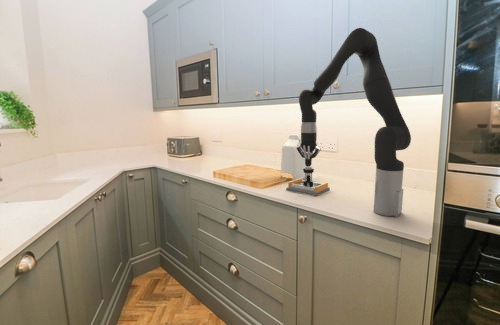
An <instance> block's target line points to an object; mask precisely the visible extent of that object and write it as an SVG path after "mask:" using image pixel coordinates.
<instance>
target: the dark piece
mask: <svg viewBox="0 0 500 325" xmlns="http://www.w3.org/2000/svg"><path fill="white" fill-rule="evenodd" d="M303 170H304V173H305V178H304V182H303V183H300V184H303V186H308V187H313V182H314V181H313V173H314V171H315V169H314V168H313V167H312V166H310V167H305V168H304V169H303ZM306 174H307V177H306Z"/></svg>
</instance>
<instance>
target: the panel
mask: <svg viewBox="0 0 500 325" xmlns="http://www.w3.org/2000/svg"><path fill="white" fill-rule="evenodd" d="M301 180H303V178H299V179H296V180H293V179H292V180H291V181H288V183H287V184H288V185H287V187H286V188H285V190H286V191H288V192H293V193H299V194H303V195H307V196H308V195H309V196H314V197H318V196H319V195H322V194H324V193H326V192H329V191H330V189H331V188H330V187H328V186H329V182H324V183H322V184H321V185H318V186H316V187H315V192H310V191H305V190H300V189H295V188H291V184H300V183H301Z"/></svg>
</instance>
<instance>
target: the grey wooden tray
mask: <svg viewBox="0 0 500 325" xmlns="http://www.w3.org/2000/svg"><path fill="white" fill-rule="evenodd" d="M304 180H305V179H304ZM304 180H303V179H302V180H301V183H303V182H304ZM321 184H323V183H321V182H316V181H315V182H314V181H313V187H308V186H303V184H291V188H295V189H300V190H305V191H310V192H315V187H316V186H318V185H321Z"/></svg>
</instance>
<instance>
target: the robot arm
mask: <svg viewBox="0 0 500 325" xmlns="http://www.w3.org/2000/svg"><path fill="white" fill-rule="evenodd" d="M379 50H380V49H379V46H378V41H377V38H376V36H375V35H374V33H372V32H370V31H369V30H367V29H365V28H362V27H358V28H355V29H354V30H352V31H351V32H350V33H349V34H348V35H347V37H346V38H345V40H344V41H343V43H342V44H341V46H340V47H339V48H338V51H337V52H336V53H335V55H334V56H333V58H332V59H331V61H330V62H329V63H328V65H327V66H326V67H325V68H324V69H323V71H322V72H321V73H320V74H319V75H318V76H317V77H316V79H314V81H313V88H311V89H303V90H302V91H301V92H300V93H299V97H298V102H299V108H300V112H301V126H300V140H301V144H300V146H299V147H297V150H298V152H299V153H300V155H301V157H303V158H305V165H306V166H307V167H312V164H313V163H312V161H313V160H312V159H315V158H317V156H318V154H319V153H320V152H321V151H322V148H321V147H318V144H317V136H318V135H317V133H318V132H317V130H318V128H317V111H316V110H315V109H313V106H314V105H316V104H317V103H319V101H320V100H321V99H322V98H323V97H324V95H325V93H326V91H327V90H328V89H329V88H330V87H331V86H332V85H333V84H334V83H335V82H336V80H337V79H338V77H340V76H339V75H340V74H341V71H342V69H343V67H344V65H345V63H346V62H347V61H348V60H349V59H350V58H351V57H352V56H353V55H357V56H358V57H359V60H360V62H361V64H362V67H363V76H362V86H363V92H364V93H365V97H366V100H367V101H368V103H369V104H370V105H371V107H372V108H373V109H374V110H375V111H376V112H377V113H378V114H379V115H380V117H381V118H382V119H383V121H384V124H385V126H382V127H380V128H379V129H378V130H377V131H376V133H375V137H374V161H375V164H376V165H375V166H376V168H375V179H374V180H375V184H374V197H373V198H374V199H373V212H374V213H375V214H377V215H380V216H386V217H396V218H397V217H399V216H400V215H401V214H402V211H403V199H404V188H403V180H404V168H405V163H404V162H403V161H402V160H399V159H398V158H397V151H403V150H406V149H408V148H409V146H410V144H411V141H412V136H411V132H410V130H409V126H408V125H407V123H406V121H405V119H404V117H403V115H402V113H401V110H400V108H399V106H398V103H397V100H396V97H395V94H394V92H393V89H392V85H391V82H390V80H389V79H390V78H389V77H388V75H387V72H386V71H387V70H386V69H385V66H384V64H383V62H382V59H381V53H380V51H379ZM302 149H303V150H302Z"/></svg>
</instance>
